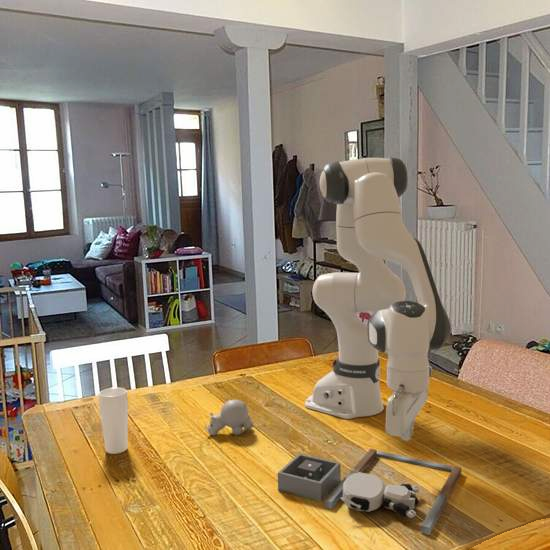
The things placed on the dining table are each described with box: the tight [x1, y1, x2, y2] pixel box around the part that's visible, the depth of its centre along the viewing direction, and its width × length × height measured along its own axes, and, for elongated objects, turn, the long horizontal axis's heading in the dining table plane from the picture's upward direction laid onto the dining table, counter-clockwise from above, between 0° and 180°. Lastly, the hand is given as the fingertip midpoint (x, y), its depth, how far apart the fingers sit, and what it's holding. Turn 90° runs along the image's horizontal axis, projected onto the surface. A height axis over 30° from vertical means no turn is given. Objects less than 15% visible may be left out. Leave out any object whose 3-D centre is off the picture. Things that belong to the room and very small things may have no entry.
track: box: [324, 448, 462, 536], centre depth 126 cm, size 21×28×2 cm
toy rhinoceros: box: [204, 398, 254, 437], centre depth 156 cm, size 7×12×8 cm, turn 100°
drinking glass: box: [98, 387, 129, 455], centre depth 146 cm, size 7×7×15 cm
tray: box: [277, 453, 342, 503], centre depth 128 cm, size 10×10×4 cm
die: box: [297, 460, 323, 481], centre depth 128 cm, size 4×4×4 cm
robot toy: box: [340, 468, 420, 519], centre depth 120 cm, size 12×4×15 cm
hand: (407, 437), depth 131 cm, fingers closed
